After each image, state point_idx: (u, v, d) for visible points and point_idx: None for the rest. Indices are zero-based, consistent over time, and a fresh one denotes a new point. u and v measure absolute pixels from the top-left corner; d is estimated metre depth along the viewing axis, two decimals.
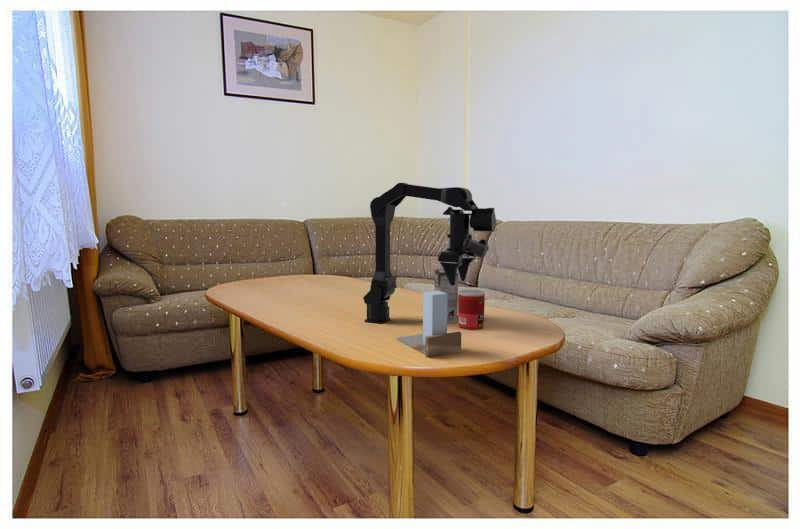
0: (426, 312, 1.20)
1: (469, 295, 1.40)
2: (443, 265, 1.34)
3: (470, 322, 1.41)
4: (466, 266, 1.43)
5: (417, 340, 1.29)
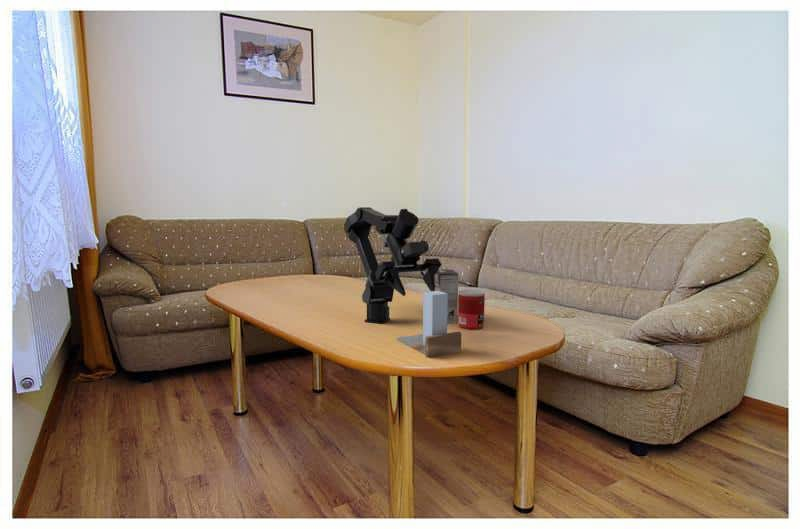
0: (426, 312, 1.20)
1: (469, 295, 1.40)
2: (388, 282, 1.29)
3: (470, 322, 1.41)
4: (429, 277, 1.32)
5: (417, 340, 1.29)
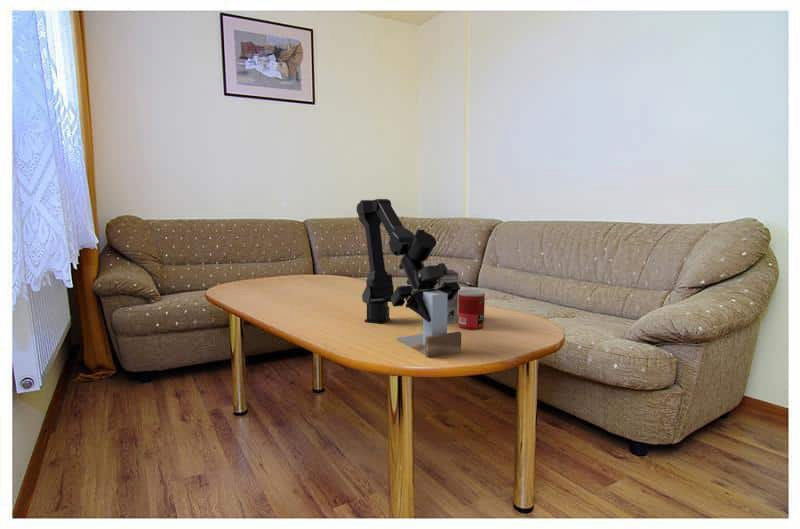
0: None
1: (469, 295, 1.40)
2: (411, 307, 1.23)
3: (470, 322, 1.41)
4: None
5: (417, 340, 1.29)
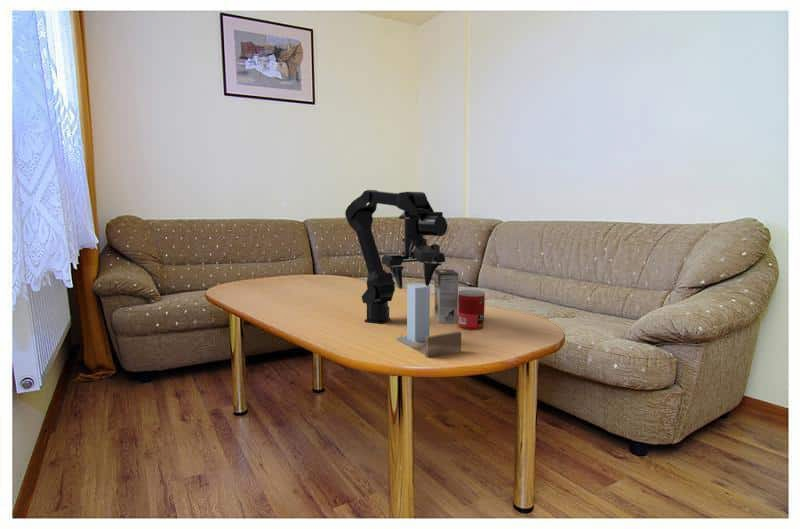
0: (410, 304, 1.28)
1: (469, 295, 1.40)
2: (390, 268, 1.38)
3: (470, 322, 1.41)
4: (429, 271, 1.41)
5: None
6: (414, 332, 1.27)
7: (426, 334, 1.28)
